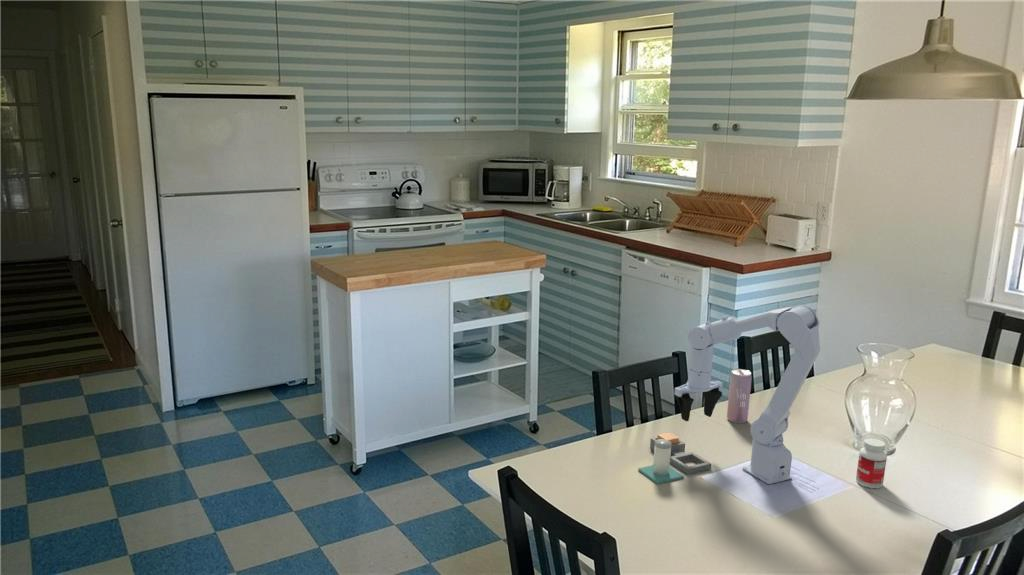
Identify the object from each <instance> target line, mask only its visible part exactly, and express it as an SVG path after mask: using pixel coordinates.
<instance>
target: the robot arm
mask: <svg viewBox="0 0 1024 575" xmlns="http://www.w3.org/2000/svg"><path fill="white" fill-rule="evenodd" d="M820 323H821V322H820V320H819V317H818V316H817V314H816V312H815V311H814V309H812V308H811V307H810V306H808V305H805V304H799V305H796V306H795V307H793V306H787V307H782V308H776V309H772V310H769V311H766V312H763V313H759V314H756V315H751V316H749V317H746V318H743V319H738V318H736V317H734V316H730V317H729V315H724V316H722V317H721V319H720V320H716V321H713V322H711V320H709V321H708V320H707V321H706V322H705V323H702V324H700V325H698V326H695V327H693V328H692V329H691V330H690V331H689V332H688V334H687V340H688V343H689V344H690V356H689V366H688V369H689V370H688V378H687V381H686V383H685V384H682V385H680V386H677V387H674V394H673V395H674V397H675V399H676V402H677V404H678V407H679V411H680V416H681V420H683V421H685V422H689V421H690V415H691V409H692V405H693V403H694V400H695V399H694V398H692V397H691V396H690V395H691V394H699V393H702V394H703V402H704V403H703V404H704V405H703V414H704V416H707V417H708V418H712V415H713V412H714V410H715V407H716V405H717V404H718V402H719V400H720V399H721V398H722V397H723V392H722V391H721V390H723V384H724V383H723V382H722V381H720V380H712V368H713V358H714V345H719V344H722V343H726V342H730V341H734V340H738V339H740V338H741V336H742V335H743V333H745V332H750V331H756V330H759V329H764V328H770V329H772V330H773V331H775V332H777V331H779V332H780V334H781V335H782V336H783V337H784V338H785V339H786V341H788V343H789V344H790V345H791V347H792V348H793V351H794V353H793V355H792V357H791V358H790V361H789V362H788V365H787V367H786V368H785V371H784V372H783V375H782V376H781V379H780V380H779V383H778V385H777V387H776V389H775V390H774V392H773V394H772V397H771V399H770V401H769V403H768V404H767V405H766V407H765V408H764V409H763V411H762V412H761V414H760V416H758V419H757V418H756V420H754V421H753V422H752V423H751V425H750V429H749V430H750V431H749V432H750V435H751V437H752V444H751V446H752V447H751V454H750V455H751V456H750V464H749V465H745V466H742V470H744V472H745V471H746V472H747V473H749V474H750V475H752V476H754V477H756V478H757V479H760V481H763V482H764V483H766V484H768V485H771V484H774V483H775V484H776V483H779V482H784V481H788V480H791V479H793V476H792V475H791V468H792V457H793V454H792V452H791V450H790V449H788V447H786V446H785V444H784V437H783V436H784V435H783V434H784V433H785V432H786V431H787V430H788V427H789V418H790V415H791V408H792V406H793V404H794V402H795V401H796V399H797V396H798V395H799V392H800V391H801V388H802V386H803V385H804V383H805V380H806V378H808V375H809V373H810V371H811V370H812V368H813V365H814V363H815V362H816V359H818V358H817V357H818V356H819V354H820V351H821V345H820V344H821V343H820V332H819V327H820Z"/></svg>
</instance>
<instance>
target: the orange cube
mask: <svg viewBox="0 0 1024 575" xmlns="http://www.w3.org/2000/svg"><path fill="white" fill-rule="evenodd" d="M656 437H657V440H658V439H665V440H668V441H670V442H671V445H673V444H678V443H679V440H680V437H678V436H677V435H675V434H673V433H672V432H664V433H659V434H657V436H656Z"/></svg>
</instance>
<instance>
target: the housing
mask: <svg viewBox="0 0 1024 575" xmlns="http://www.w3.org/2000/svg"><path fill="white" fill-rule="evenodd" d="M656 440H657V436H655V437H650V443H649V444H650V445H649V448H650V450H651V451H653V452H654V449H655V441H656ZM685 451H686V443H685V442H684V441H682V440H681V439H679V443H678V444H673V445H671V454H670V465H672V466H674V467H675V468H677V469H679V470H680V471H682V472H684V473H685V474H686V475H691V474H695V473H699V472H704V471H708V470H709V471H710V470H711V469H712V463H711V462H710V461H708V460H706V459H704V458H703V457H701V456H699V455H698V454H696V453H695V452H693V451H691V452H687V453H686V452H685ZM691 460H692V461H693V462H695V463H696V464H694V465H687V464H685V463H684V462H685V461H691Z"/></svg>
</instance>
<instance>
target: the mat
mask: <svg viewBox="0 0 1024 575" xmlns="http://www.w3.org/2000/svg"><path fill="white" fill-rule="evenodd" d="M637 471H638V472H640V473H641V474H642V475H644V477H646V478H648V479H650V480H651V481H652V482H654V483H655V484H656V485H660V484H664V483H668V482H672V481H677V480H681V479H684V478H685V477H684V475H683V474H681V473H680V472H679V471H677V470H676V469H674V468H673V467H671V466H669V474H668V475H665V476H660V475H656V474H654V473H653V465H647V466H643V467H638V470H637Z"/></svg>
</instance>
